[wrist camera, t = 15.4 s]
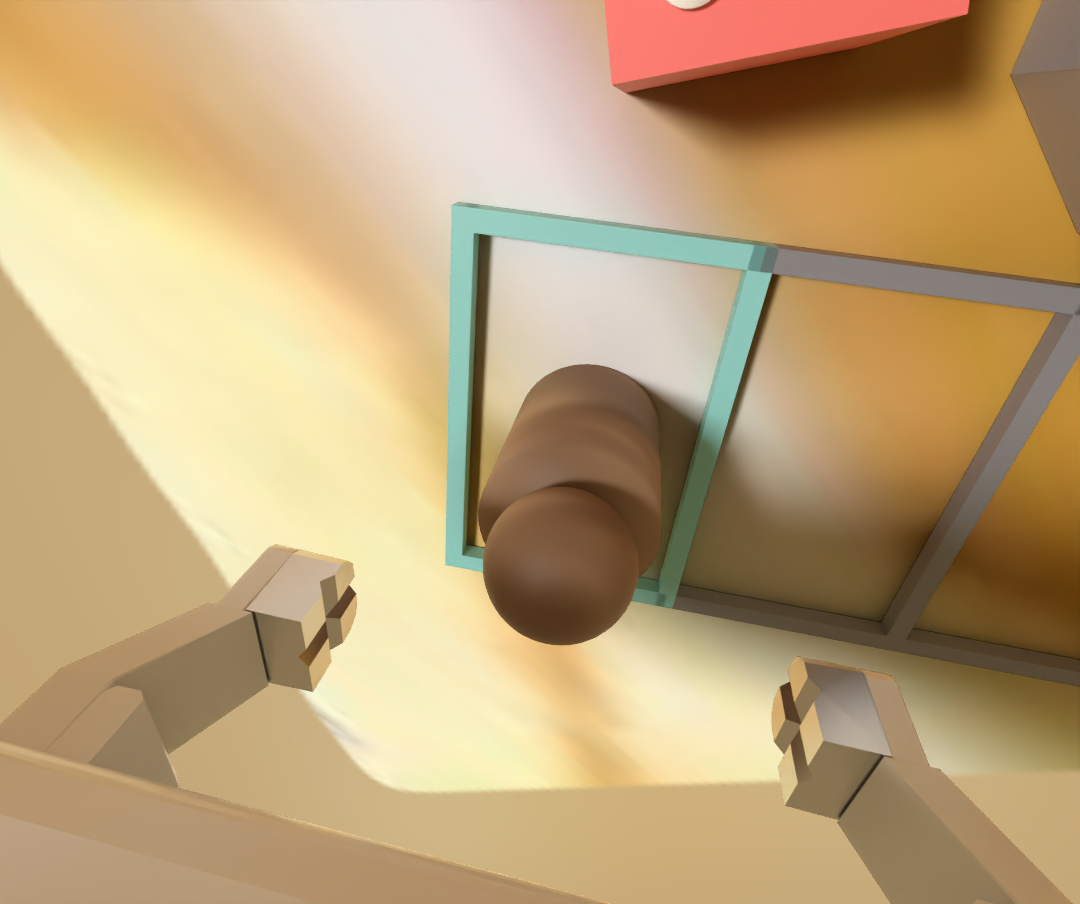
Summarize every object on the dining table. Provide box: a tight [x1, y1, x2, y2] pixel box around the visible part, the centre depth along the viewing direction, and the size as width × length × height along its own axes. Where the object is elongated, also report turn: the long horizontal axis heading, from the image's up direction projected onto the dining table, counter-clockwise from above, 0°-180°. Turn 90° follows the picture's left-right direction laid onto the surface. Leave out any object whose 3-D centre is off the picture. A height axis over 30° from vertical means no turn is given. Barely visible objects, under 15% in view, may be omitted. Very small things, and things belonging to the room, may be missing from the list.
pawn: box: [478, 364, 662, 645], centre depth 15 cm, size 4×4×8 cm
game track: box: [445, 202, 1080, 687], centre depth 17 cm, size 23×12×1 cm, turn 84°
